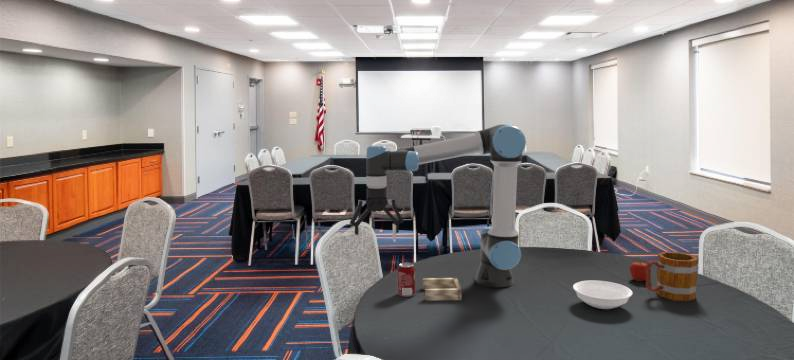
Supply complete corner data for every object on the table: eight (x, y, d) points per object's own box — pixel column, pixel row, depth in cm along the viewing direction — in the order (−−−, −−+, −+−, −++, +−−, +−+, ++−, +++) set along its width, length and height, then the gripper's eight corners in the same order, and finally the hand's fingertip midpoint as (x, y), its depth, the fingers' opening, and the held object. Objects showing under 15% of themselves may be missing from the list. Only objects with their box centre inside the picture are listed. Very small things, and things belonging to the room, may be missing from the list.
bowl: (634, 320, 170) (635, 301, 170) (571, 312, 177) (572, 295, 176) (629, 299, 189) (630, 283, 188) (572, 294, 196) (573, 277, 195)
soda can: (413, 298, 193) (413, 267, 191) (396, 297, 194) (395, 266, 192) (416, 292, 199) (416, 262, 198) (399, 291, 201) (399, 261, 199)
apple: (651, 284, 206) (652, 265, 205) (630, 282, 208) (631, 263, 207) (648, 278, 213) (649, 260, 212) (628, 276, 215) (629, 258, 214)
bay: (456, 287, 204) (456, 277, 204) (461, 299, 190) (461, 289, 190) (423, 288, 204) (422, 278, 204) (425, 300, 190) (425, 290, 190)
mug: (678, 287, 201) (680, 250, 199) (704, 299, 188) (707, 260, 186) (633, 291, 197) (635, 253, 196) (657, 303, 184) (659, 263, 182)
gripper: (406, 184, 198) (406, 238, 200) (342, 186, 192) (343, 241, 195) (411, 187, 190) (411, 242, 193) (344, 189, 185) (345, 246, 188)
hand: (376, 242), depth 194 cm, fingers open, 13 cm apart
